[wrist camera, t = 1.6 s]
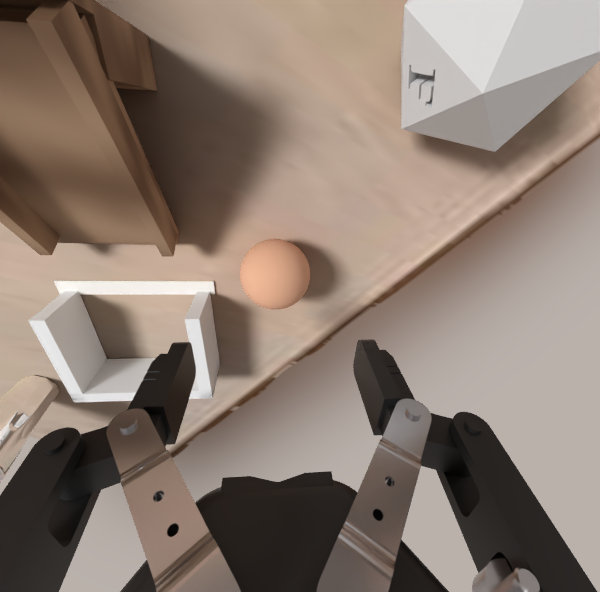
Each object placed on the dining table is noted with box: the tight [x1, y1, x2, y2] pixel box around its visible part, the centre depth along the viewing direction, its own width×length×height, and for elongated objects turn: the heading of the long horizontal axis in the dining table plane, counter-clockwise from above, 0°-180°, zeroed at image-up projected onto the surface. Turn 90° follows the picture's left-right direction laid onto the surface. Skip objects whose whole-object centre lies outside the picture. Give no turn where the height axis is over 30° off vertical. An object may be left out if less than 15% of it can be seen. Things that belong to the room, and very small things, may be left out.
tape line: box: [54, 280, 215, 294], centre depth 23 cm, size 1×12×1 cm, turn 87°
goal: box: [28, 291, 220, 403], centre depth 24 cm, size 8×11×4 cm
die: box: [401, 0, 600, 152], centre depth 14 cm, size 8×9×10 cm
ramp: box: [0, 0, 180, 256], centre depth 14 cm, size 12×8×9 cm
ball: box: [240, 239, 310, 309], centre depth 21 cm, size 5×5×5 cm
